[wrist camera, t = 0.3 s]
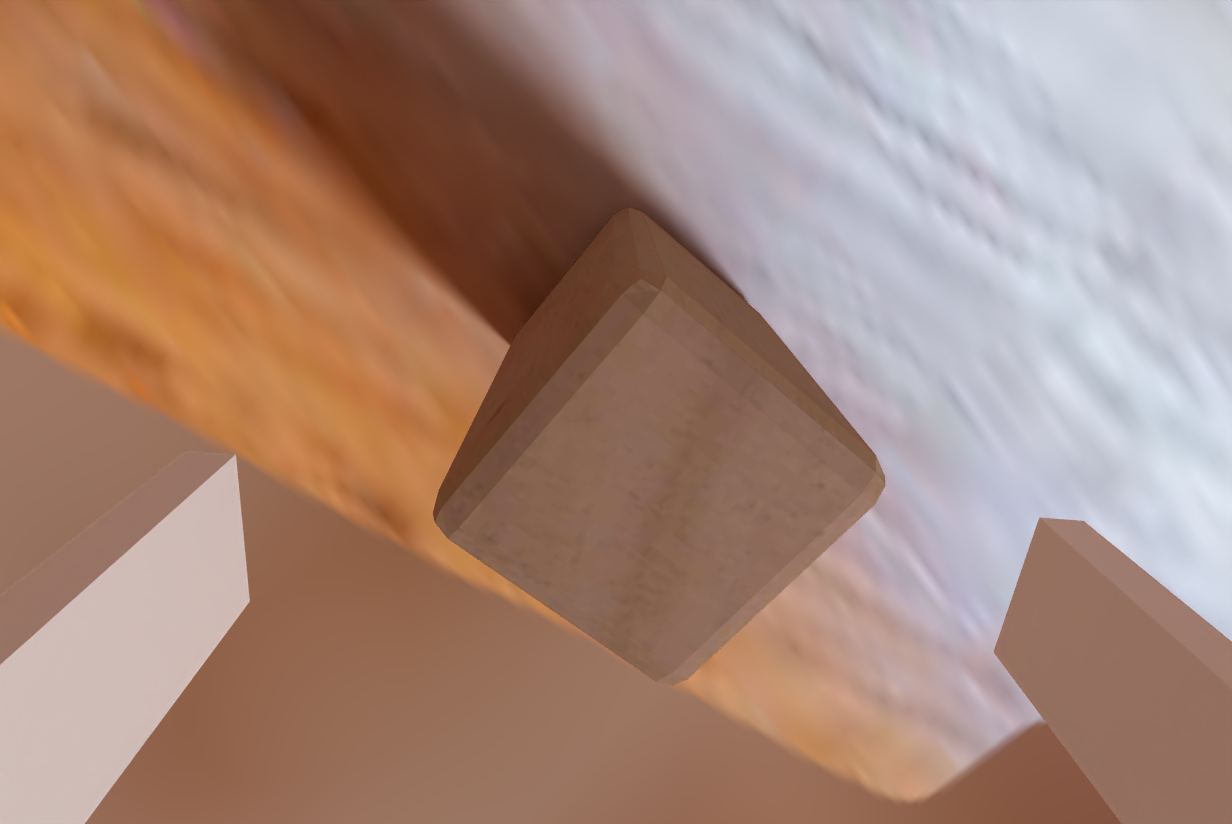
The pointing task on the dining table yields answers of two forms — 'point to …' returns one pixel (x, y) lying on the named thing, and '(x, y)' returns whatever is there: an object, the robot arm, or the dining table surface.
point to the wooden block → (653, 457)
